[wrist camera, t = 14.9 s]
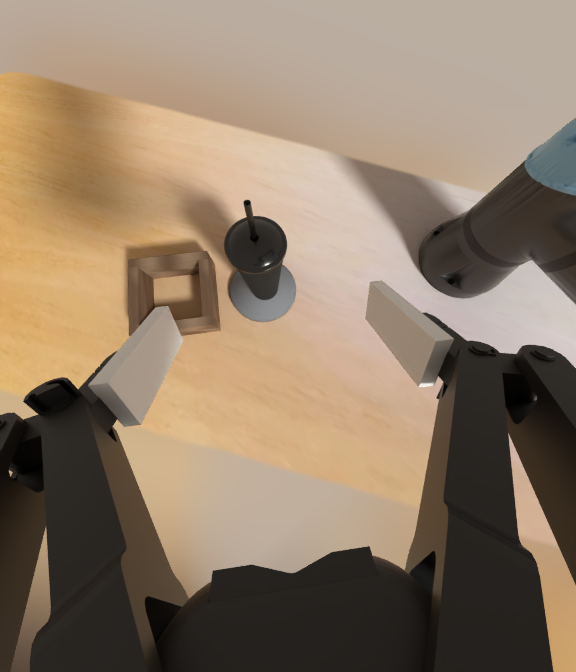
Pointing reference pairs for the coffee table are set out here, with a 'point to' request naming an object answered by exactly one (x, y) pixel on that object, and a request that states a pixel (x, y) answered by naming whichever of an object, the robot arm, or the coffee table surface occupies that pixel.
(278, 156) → the coffee table surface
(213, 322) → the wooden square tray
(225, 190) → the coffee table surface
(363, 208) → the coffee table surface
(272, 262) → the drinking cup
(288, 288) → the coaster
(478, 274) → the robot arm
